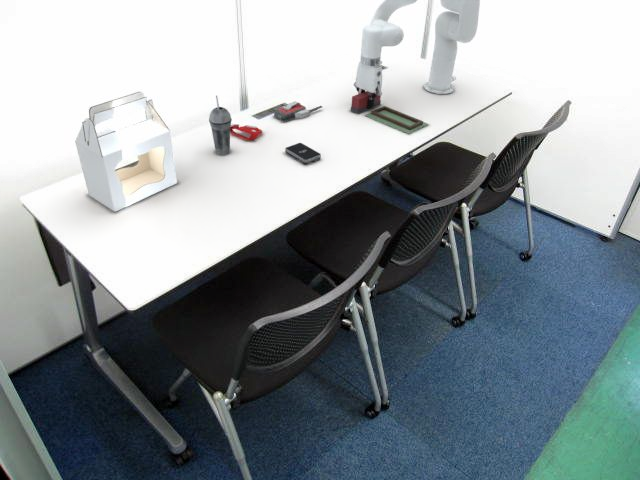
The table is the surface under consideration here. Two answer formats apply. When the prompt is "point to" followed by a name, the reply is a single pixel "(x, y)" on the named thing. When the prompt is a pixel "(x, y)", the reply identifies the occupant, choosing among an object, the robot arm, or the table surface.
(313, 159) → the external hard drive
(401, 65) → the table surface
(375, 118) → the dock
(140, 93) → the gable box
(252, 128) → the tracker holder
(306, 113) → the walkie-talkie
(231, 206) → the table surface
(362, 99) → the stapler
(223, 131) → the beverage cup
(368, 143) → the table surface
